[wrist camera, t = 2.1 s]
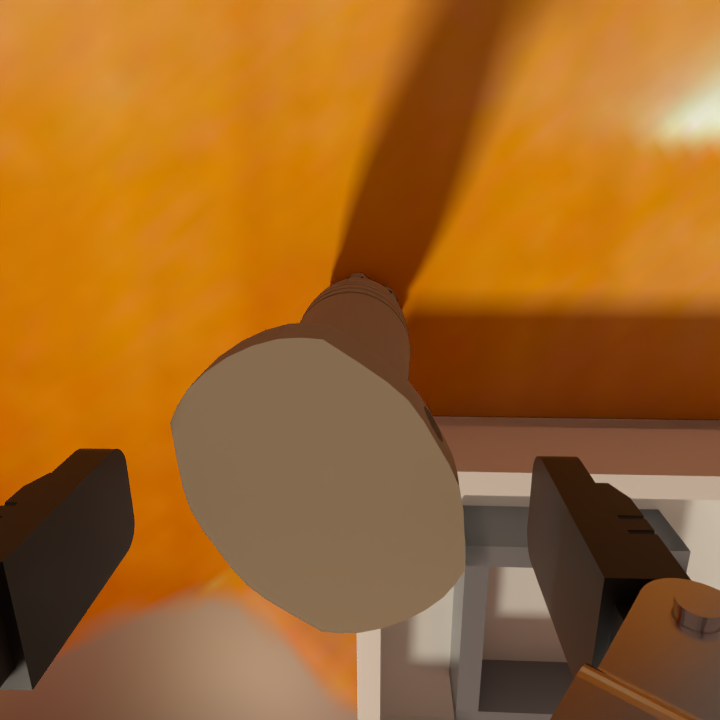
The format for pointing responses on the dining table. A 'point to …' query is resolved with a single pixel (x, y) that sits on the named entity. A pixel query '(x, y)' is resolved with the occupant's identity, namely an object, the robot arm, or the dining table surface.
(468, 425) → the box
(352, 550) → the handle
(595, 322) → the dining table surface
